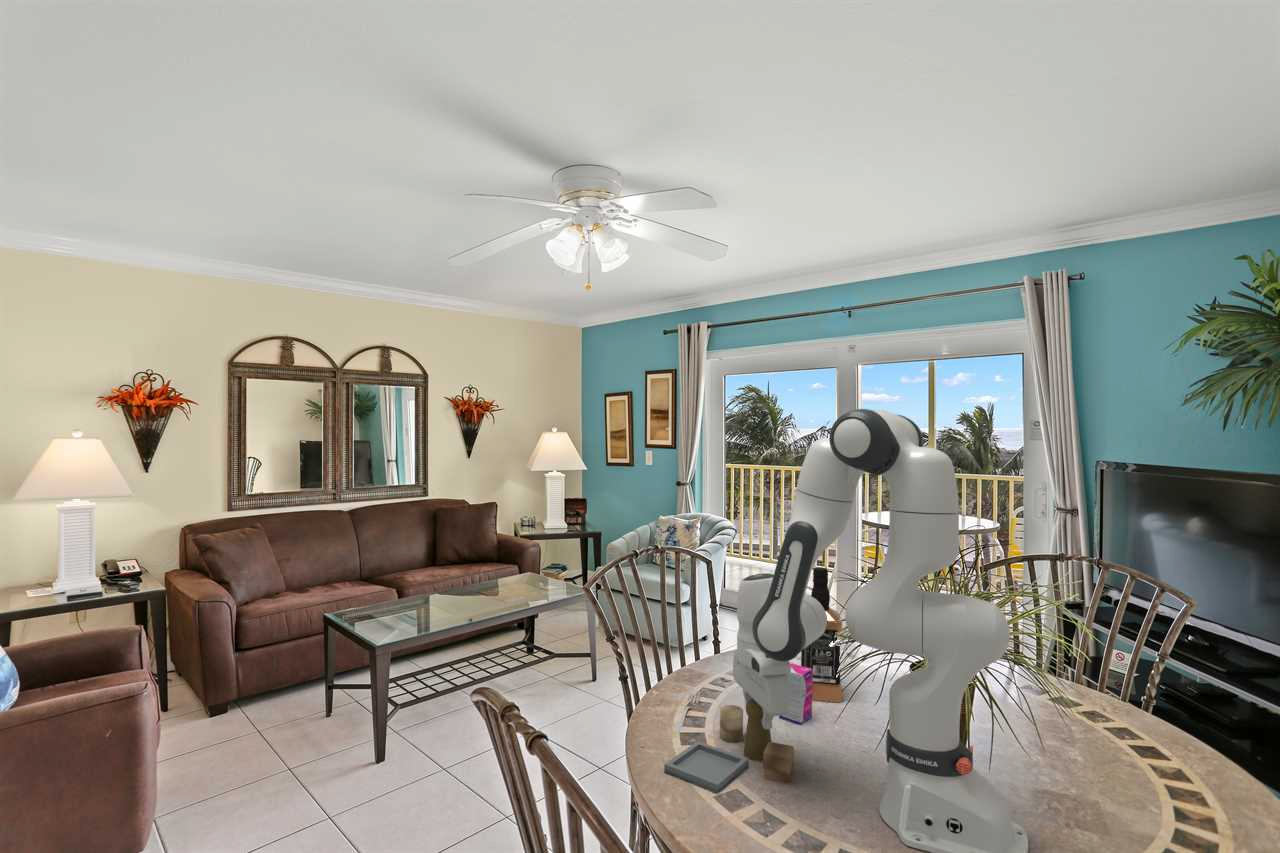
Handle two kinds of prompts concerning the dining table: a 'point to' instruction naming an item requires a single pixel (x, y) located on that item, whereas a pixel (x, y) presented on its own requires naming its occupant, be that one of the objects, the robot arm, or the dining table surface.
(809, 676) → the supplement box
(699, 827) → the dining table surface
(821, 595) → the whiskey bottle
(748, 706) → the olive hourglass shape
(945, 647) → the robot arm
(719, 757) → the slate dish
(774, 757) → the walnut block
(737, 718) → the cork cylinder
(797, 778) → the dining table surface
